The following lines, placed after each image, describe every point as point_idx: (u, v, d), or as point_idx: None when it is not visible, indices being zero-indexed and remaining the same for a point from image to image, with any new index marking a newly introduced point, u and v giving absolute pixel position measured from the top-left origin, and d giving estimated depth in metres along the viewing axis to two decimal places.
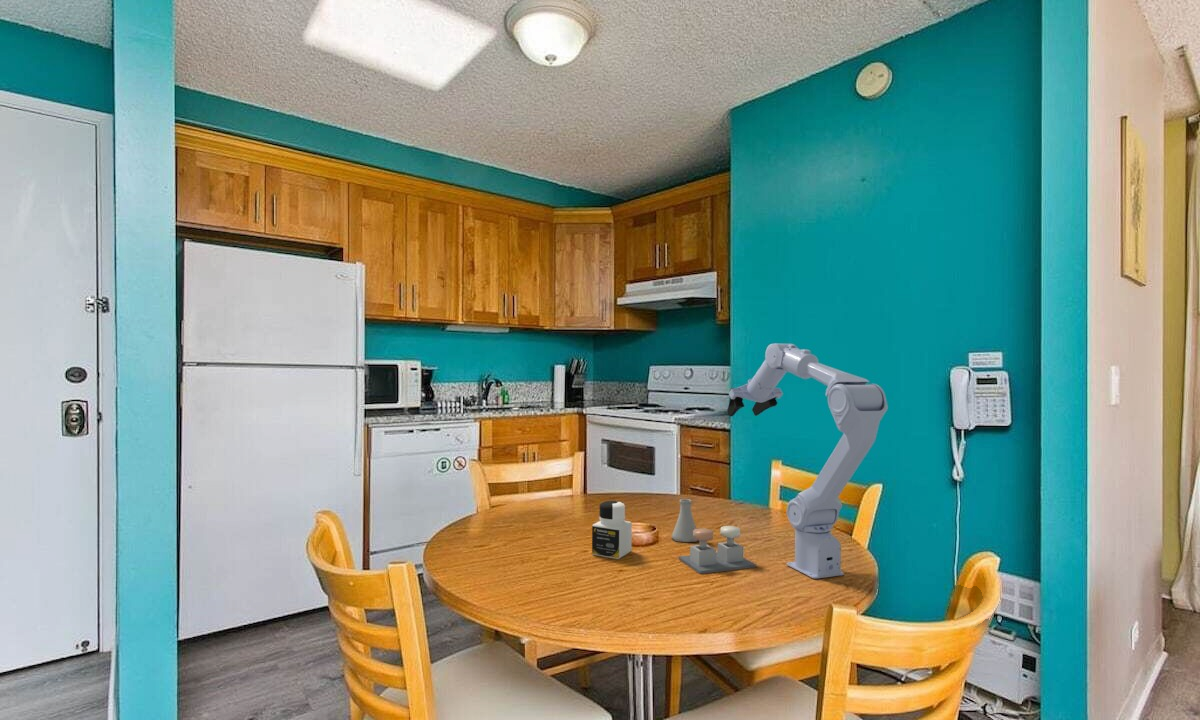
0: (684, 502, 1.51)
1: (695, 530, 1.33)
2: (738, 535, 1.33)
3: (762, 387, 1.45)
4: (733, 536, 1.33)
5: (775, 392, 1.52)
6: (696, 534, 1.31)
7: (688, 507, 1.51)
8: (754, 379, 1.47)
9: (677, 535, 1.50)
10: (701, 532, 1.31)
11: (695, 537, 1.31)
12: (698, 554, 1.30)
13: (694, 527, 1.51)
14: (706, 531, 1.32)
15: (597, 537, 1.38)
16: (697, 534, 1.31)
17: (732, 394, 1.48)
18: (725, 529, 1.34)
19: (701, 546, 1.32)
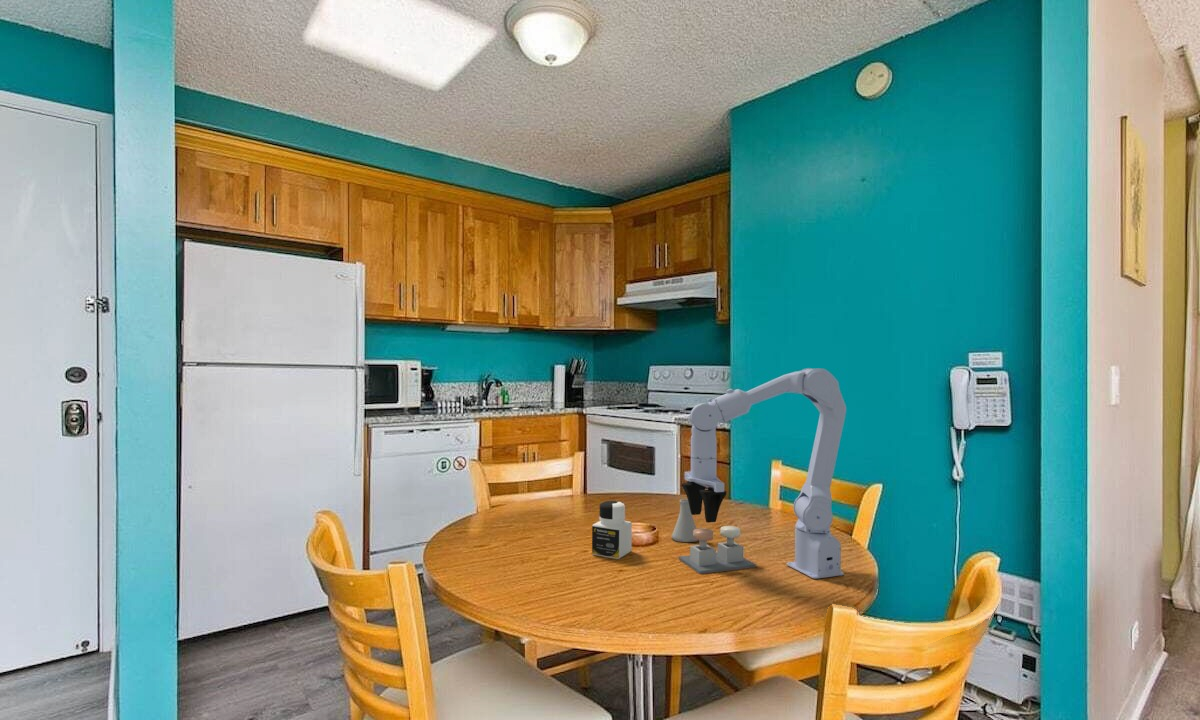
0: (684, 502, 1.51)
1: (695, 530, 1.33)
2: (738, 535, 1.33)
3: (716, 458, 1.32)
4: (733, 536, 1.33)
5: None
6: (696, 534, 1.31)
7: (688, 507, 1.51)
8: (707, 461, 1.30)
9: (677, 535, 1.50)
10: (701, 532, 1.31)
11: (695, 537, 1.31)
12: (698, 554, 1.30)
13: (694, 527, 1.51)
14: (706, 531, 1.32)
15: (597, 537, 1.38)
16: (697, 534, 1.31)
17: (722, 485, 1.26)
18: (725, 529, 1.34)
19: (701, 546, 1.32)
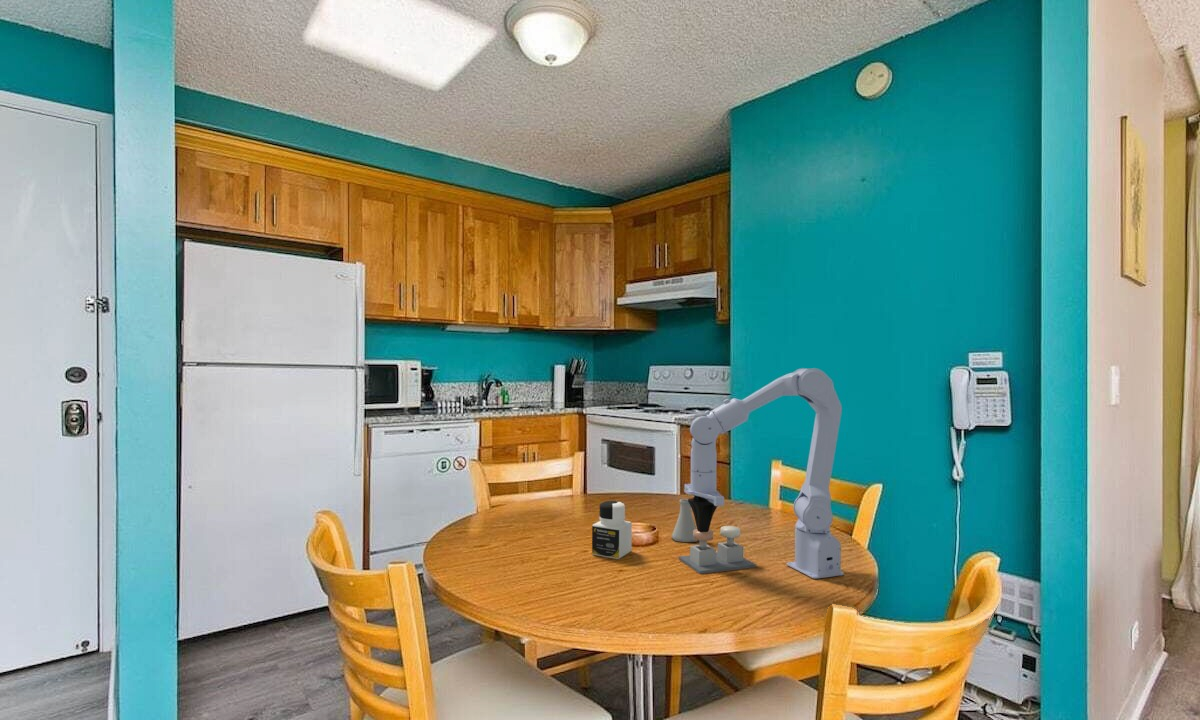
0: (684, 502, 1.51)
1: (695, 530, 1.33)
2: (738, 535, 1.33)
3: (716, 472, 1.32)
4: (733, 536, 1.33)
5: None
6: (696, 534, 1.31)
7: (688, 507, 1.51)
8: (707, 474, 1.30)
9: (677, 535, 1.50)
10: (701, 532, 1.31)
11: (695, 537, 1.31)
12: (698, 554, 1.30)
13: (694, 527, 1.51)
14: None
15: (597, 537, 1.38)
16: (697, 534, 1.31)
17: (722, 499, 1.26)
18: (725, 529, 1.34)
19: (701, 546, 1.32)
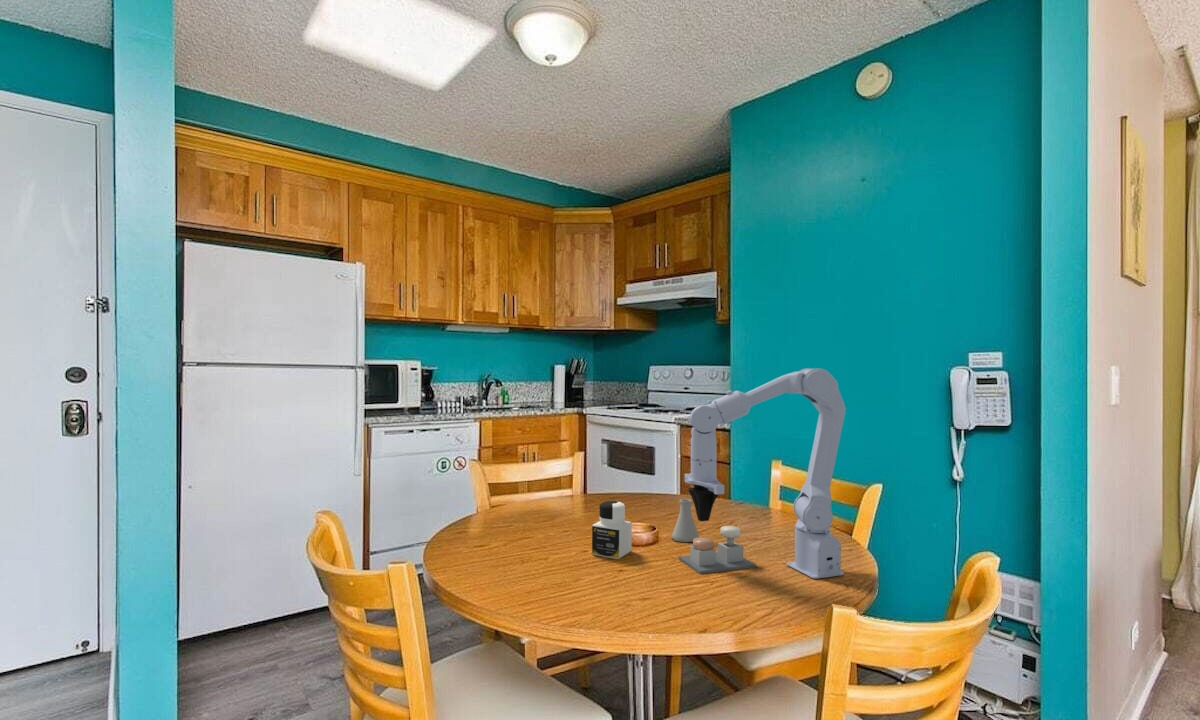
0: (684, 502, 1.51)
1: (695, 539, 1.33)
2: (738, 535, 1.33)
3: (716, 460, 1.32)
4: (733, 536, 1.33)
5: None
6: (696, 543, 1.31)
7: (688, 507, 1.51)
8: (707, 463, 1.30)
9: (677, 535, 1.50)
10: (701, 542, 1.31)
11: (695, 546, 1.31)
12: (698, 554, 1.30)
13: (694, 527, 1.51)
14: (706, 540, 1.32)
15: (597, 537, 1.38)
16: (697, 543, 1.31)
17: (722, 488, 1.26)
18: (725, 529, 1.34)
19: None
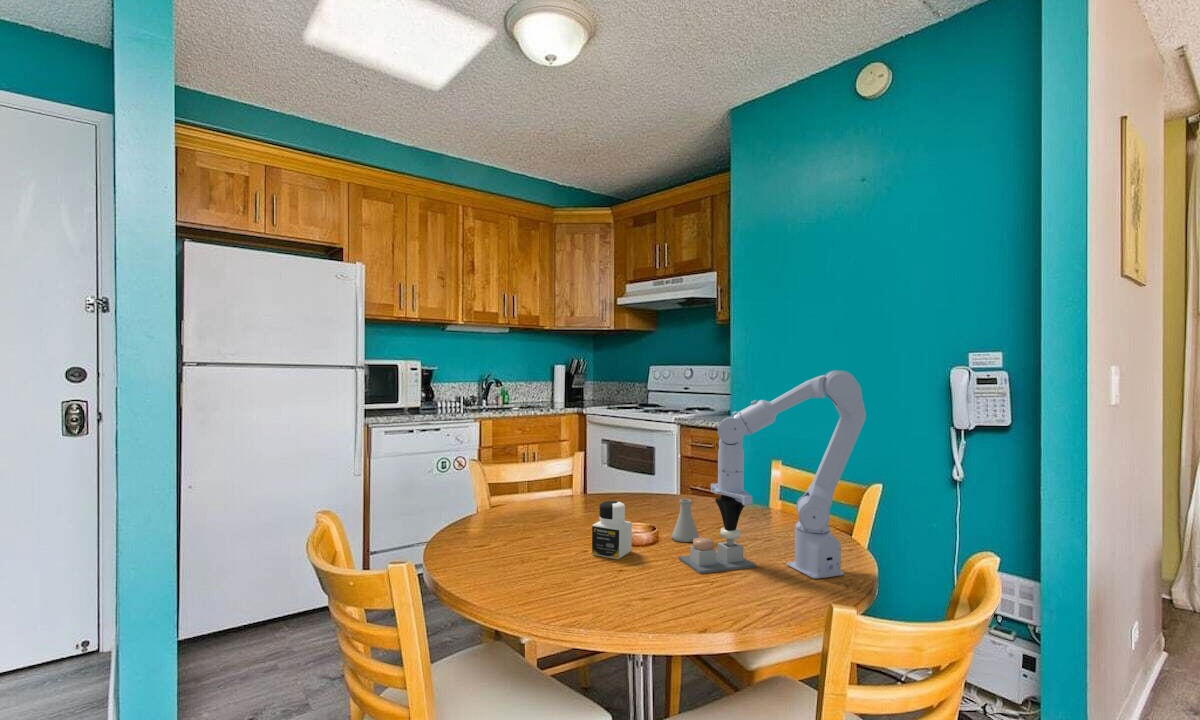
0: (684, 502, 1.51)
1: (695, 539, 1.33)
2: (738, 536, 1.33)
3: (743, 471, 1.34)
4: (733, 537, 1.33)
5: None
6: (696, 543, 1.31)
7: (688, 507, 1.51)
8: (735, 474, 1.32)
9: (677, 535, 1.50)
10: (701, 542, 1.31)
11: (695, 546, 1.31)
12: (698, 554, 1.30)
13: (694, 527, 1.51)
14: (706, 540, 1.32)
15: (597, 537, 1.38)
16: (697, 543, 1.31)
17: (750, 498, 1.28)
18: (725, 530, 1.34)
19: None
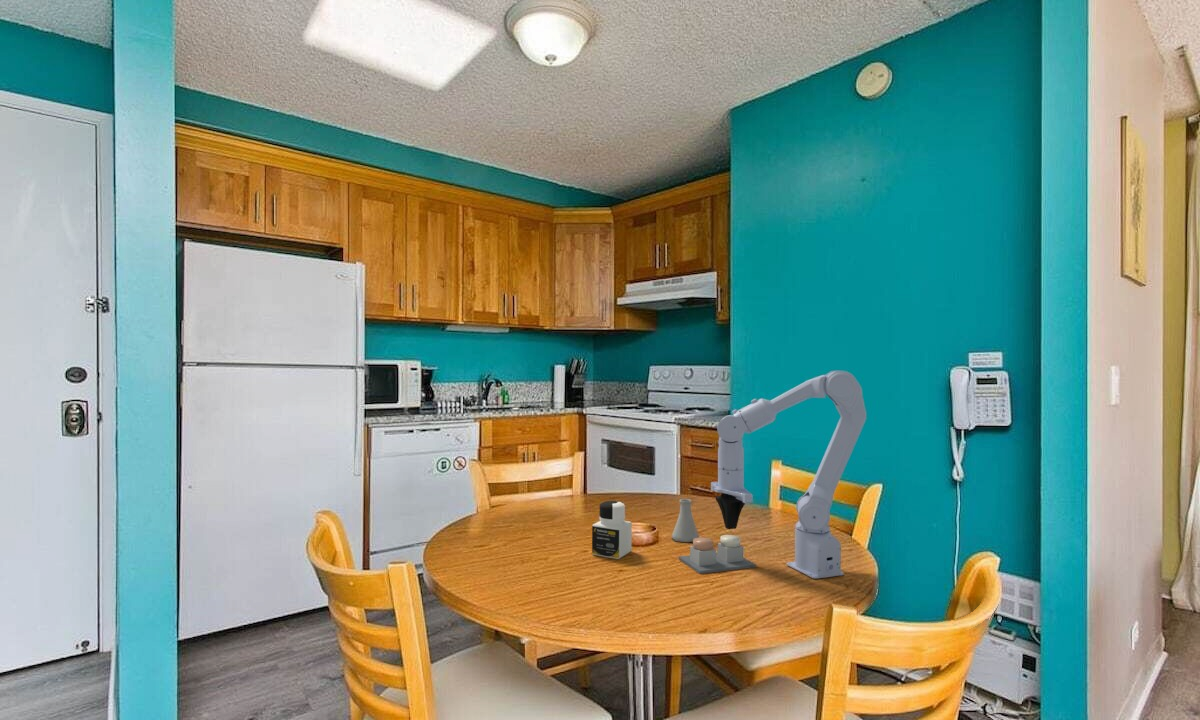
0: (684, 502, 1.51)
1: (695, 539, 1.33)
2: (738, 544, 1.33)
3: (743, 469, 1.34)
4: (733, 545, 1.33)
5: None
6: (696, 543, 1.31)
7: (688, 507, 1.51)
8: (735, 472, 1.32)
9: (677, 535, 1.50)
10: (701, 542, 1.31)
11: (695, 546, 1.31)
12: (698, 554, 1.30)
13: (694, 527, 1.51)
14: (706, 540, 1.32)
15: (597, 537, 1.38)
16: (697, 543, 1.31)
17: (750, 496, 1.28)
18: (725, 538, 1.34)
19: None
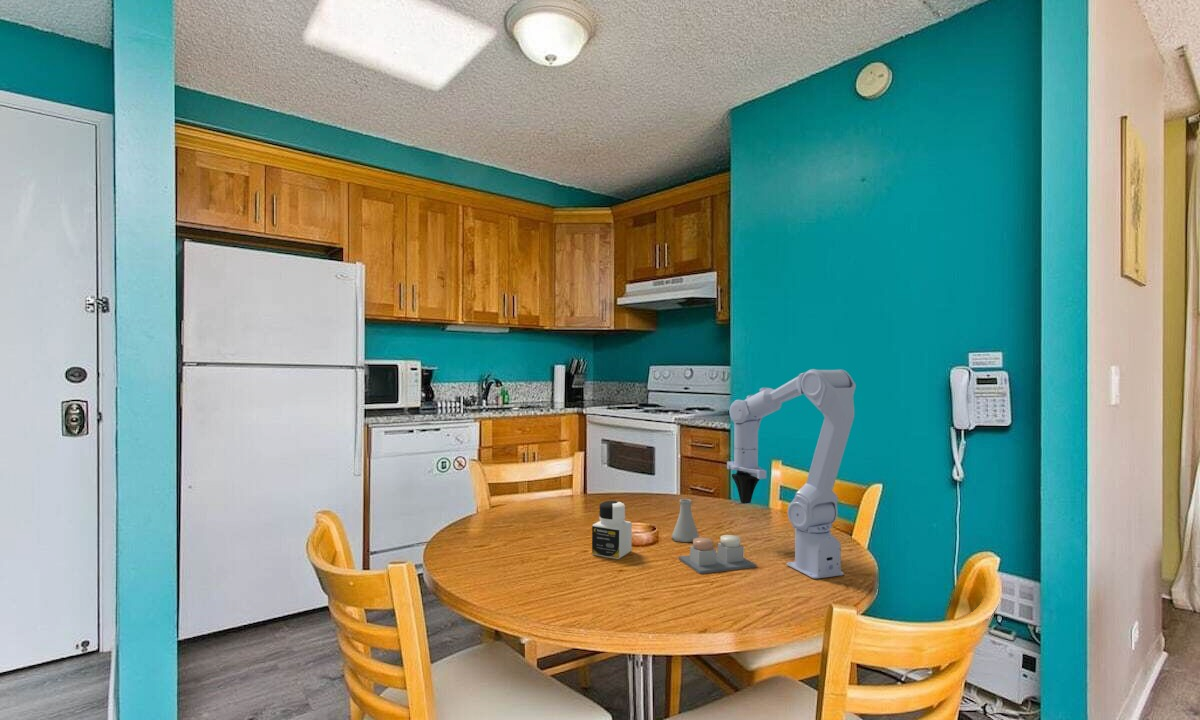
0: (684, 502, 1.51)
1: (695, 539, 1.33)
2: (738, 544, 1.33)
3: (757, 449, 1.47)
4: (733, 545, 1.33)
5: None
6: (696, 543, 1.31)
7: (688, 507, 1.51)
8: (750, 451, 1.45)
9: (677, 535, 1.50)
10: (701, 542, 1.31)
11: (695, 546, 1.31)
12: (698, 554, 1.30)
13: (694, 527, 1.51)
14: (706, 540, 1.32)
15: (597, 537, 1.38)
16: (697, 543, 1.31)
17: (764, 473, 1.41)
18: (725, 538, 1.34)
19: None
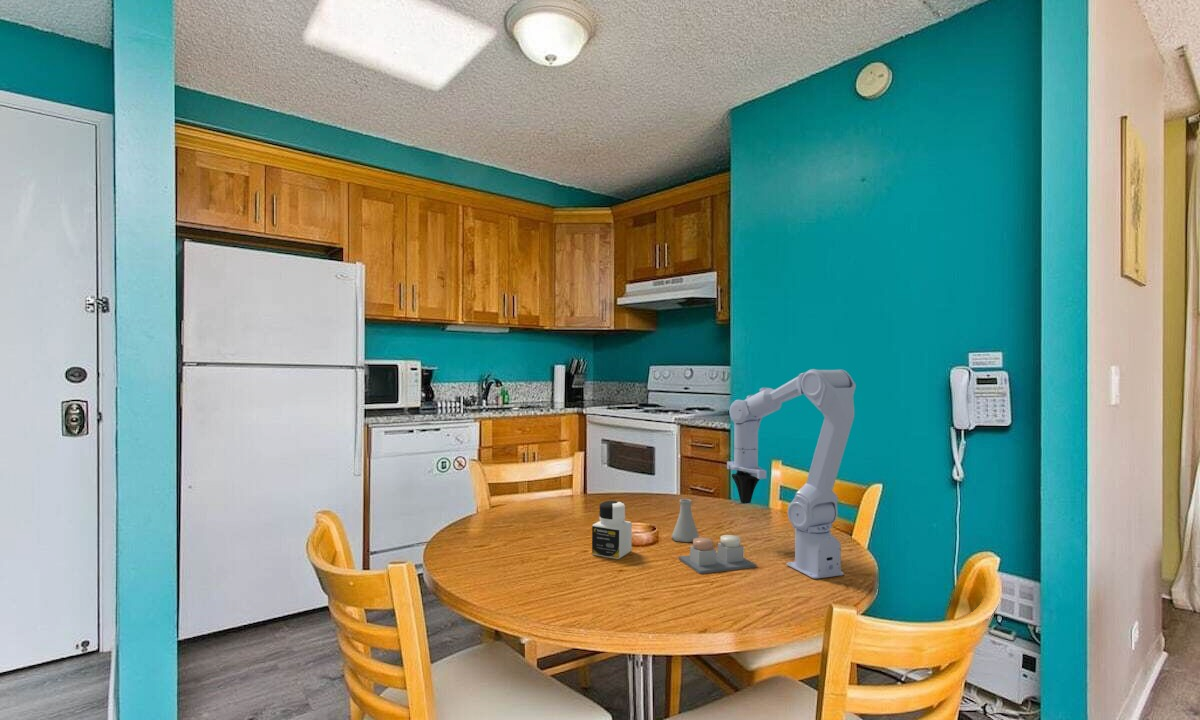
0: (684, 502, 1.51)
1: (695, 539, 1.33)
2: (738, 544, 1.33)
3: (757, 449, 1.47)
4: (733, 545, 1.33)
5: None
6: (696, 543, 1.31)
7: (688, 507, 1.51)
8: (750, 451, 1.45)
9: (677, 535, 1.50)
10: (701, 542, 1.31)
11: (695, 546, 1.31)
12: (698, 554, 1.30)
13: (694, 527, 1.51)
14: (706, 540, 1.32)
15: (597, 537, 1.38)
16: (697, 543, 1.31)
17: (764, 473, 1.41)
18: (725, 538, 1.34)
19: None
